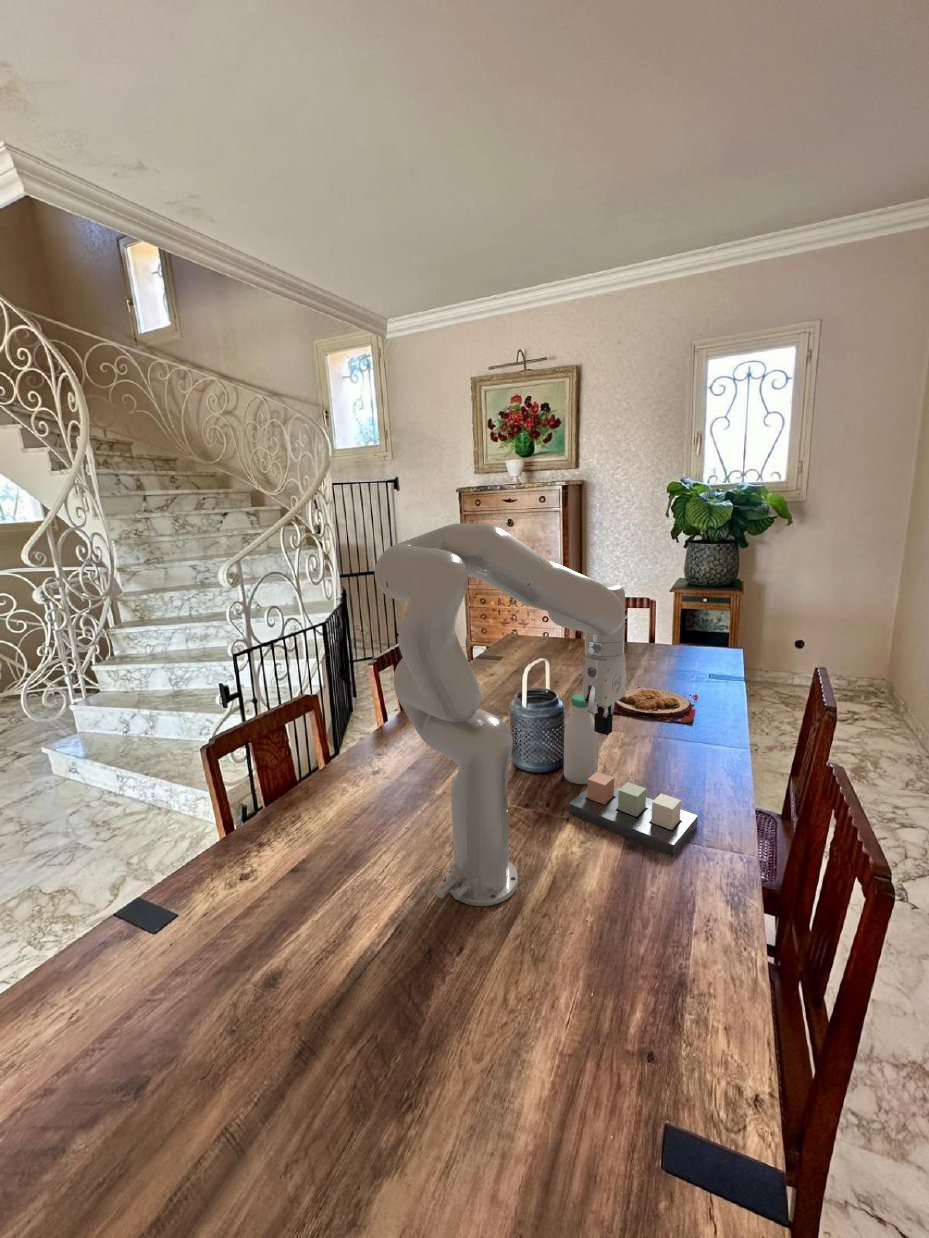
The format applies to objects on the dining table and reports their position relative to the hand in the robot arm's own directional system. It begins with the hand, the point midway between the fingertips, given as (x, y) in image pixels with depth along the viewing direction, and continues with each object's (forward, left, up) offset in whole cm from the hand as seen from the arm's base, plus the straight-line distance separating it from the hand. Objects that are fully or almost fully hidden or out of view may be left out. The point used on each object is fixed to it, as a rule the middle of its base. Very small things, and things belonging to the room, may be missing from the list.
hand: (603, 732), depth 115 cm
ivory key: (0, -14, -15) cm, 20 cm away
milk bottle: (+9, +10, -18) cm, 22 cm away
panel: (0, -7, -17) cm, 19 cm away
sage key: (0, -7, -15) cm, 16 cm away
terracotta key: (0, 0, -15) cm, 15 cm away
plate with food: (+61, +16, -18) cm, 65 cm away
